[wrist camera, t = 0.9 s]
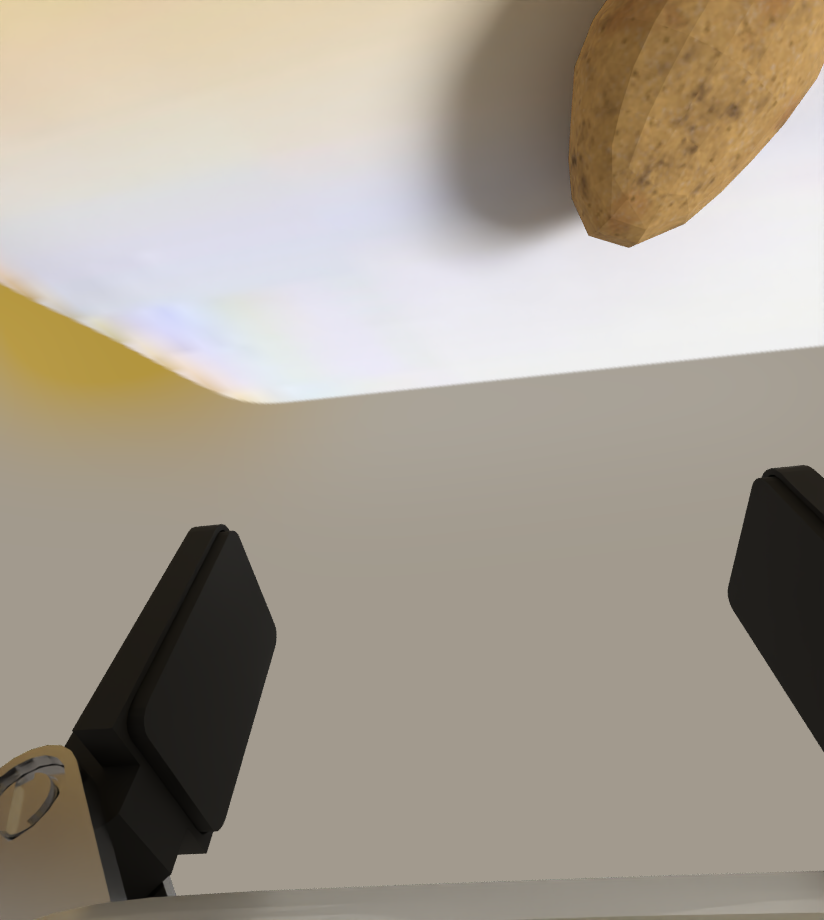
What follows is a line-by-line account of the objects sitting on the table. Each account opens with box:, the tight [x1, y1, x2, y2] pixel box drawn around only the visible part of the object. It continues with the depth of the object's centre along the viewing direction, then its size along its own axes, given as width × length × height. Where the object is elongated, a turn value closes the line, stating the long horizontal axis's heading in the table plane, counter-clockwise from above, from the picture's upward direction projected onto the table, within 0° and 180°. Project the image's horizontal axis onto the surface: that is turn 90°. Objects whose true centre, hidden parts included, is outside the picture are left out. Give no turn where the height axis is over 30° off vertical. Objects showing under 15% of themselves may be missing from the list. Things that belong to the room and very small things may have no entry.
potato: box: [568, 0, 824, 248], centre depth 23 cm, size 10×14×8 cm
